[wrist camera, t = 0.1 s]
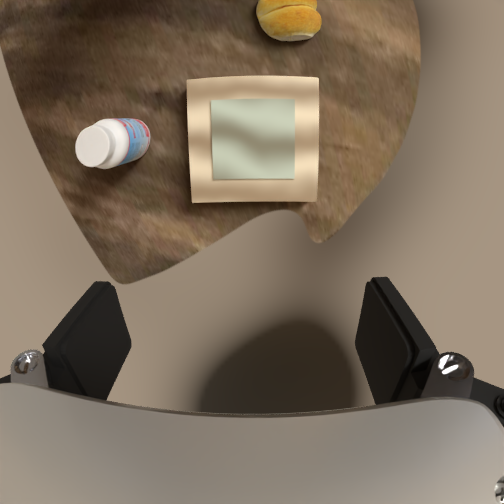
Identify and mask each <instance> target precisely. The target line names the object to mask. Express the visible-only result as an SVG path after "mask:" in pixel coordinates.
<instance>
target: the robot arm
mask: <svg viewBox="0 0 504 504" xmlns="http://www.w3.org/2000/svg"><path fill="white" fill-rule="evenodd" d="M42 346H43V348H44V350H45V352H44V354H42V353H41V352H40V351H37V350H28V351H25V352H22V353H21V354H19V355H18V356H17V357H16V358H15V359H14V360H13V362H12V364H11V374H10V375H8V376H5V377H3V378H0V504H504V389H502V388H499V387H496V386H494V385H491V384H489V383H486V382H484V381H481V380H479V379H476V378H474V368H473V365H472V363H471V362H470V361H469V360H468V359H467V358H466V357H465V356H463V355H461V354H459V353H454V352H445V353H442V354H439V352H438V351H437V349H436V347H435V345H434V343H433V342H432V340H431V339H430V337H429V335H428V334H427V332H426V331H425V329H424V328H423V326H422V325H421V323H420V322H419V321H418V319H417V318H416V316H415V315H414V313H413V312H412V310H411V309H410V307H409V306H408V305H407V303H406V302H405V300H404V299H403V298H402V296H401V295H400V293H399V292H398V291H397V290H396V288H395V286H394V285H393V284H392V282H391V281H390V280H389V278H388V277H373V278H372V279H371V281H370V282H367V283H366V287H365V293H364V298H363V305H362V309H361V314H360V319H359V324H358V329H357V334H356V340H355V346H356V350H357V353H358V355H359V358H360V361H361V364H362V366H363V369H364V372H365V375H366V378H367V381H368V384H369V386H370V389H371V392H372V395H373V398H374V401H375V404H376V405H372V406H364V407H357V408H348V409H339V410H329V411H318V412H305V413H286V414H220V413H219V414H218V413H200V412H186V411H175V410H167V409H158V408H150V407H142V406H135V405H129V404H123V403H117V402H112V401H106V400H107V397H108V395H109V393H110V391H111V389H112V387H113V384H114V382H115V380H116V378H117V376H118V374H119V372H120V370H121V367H122V365H123V363H124V361H125V359H126V357H127V355H128V353H129V351H130V349H131V338H130V335H129V332H128V329H127V326H126V323H125V320H124V317H123V314H122V310H121V307H120V303H119V300H118V296H117V293H116V289H115V287H114V286H113V285H111V283H110V282H102V281H99V282H97V281H96V282H94V283H93V284H92V286H91V287H90V288H89V289H88V290H87V291H86V292H85V294H84V295H83V296H82V297H81V298H80V299H79V301H78V302H77V303H76V304H75V305H74V306H73V307H72V309H71V310H70V311H69V312H68V313H67V315H66V316H65V317H64V318H63V319H62V321H61V322H60V323H59V324H58V326H57V327H56V328H55V329H54V331H53V332H52V333H51V334H50V336H49V337H48V338H47V339H46V341H45V342H44V343H43V345H42Z"/></svg>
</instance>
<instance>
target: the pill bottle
mask: <svg viewBox="0 0 504 504" xmlns="http://www.w3.org/2000/svg"><path fill="white" fill-rule="evenodd" d="M149 144H150V132H149V129H148V127H147V126H146V125H145V123H143V122H142V121H140V120H138V119H132V118H123V119H121V118H120V119H103V120H100V121H98V122H96V123H95V124H94V125H93V126H89V127H87V128H85V129H84V130H83V131H82V132H81V133H80V134H79V136H78V138H77V141H76V146H75V149H76V155H77V157H78V159H79V161H80V162H81V163H82V164H83V165H85V166H88V167H98V168H101V169H108V168H112V167H115V166H118V165H121V164H125V163H128V162H131V161H134V160H137V159H139V158H140V157H142V156H143V155H144V154H145V152H146V151H147V149H148V147H149Z"/></svg>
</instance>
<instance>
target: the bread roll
mask: <svg viewBox="0 0 504 504" xmlns="http://www.w3.org/2000/svg"><path fill="white" fill-rule="evenodd" d="M316 7H317V2H316V0H259V2H258V5H257V9H256V14H257V17H258V20H259V23H260V26H261V27H262V29H263V30H264V31H265V32H266V33H267V34H268V35H269V36H270V37H272V38H274V39H277V40H280V41H297V40H305V39H310V38H312V37H313V35H314V34H315V33H317V32H318V31H319V29H320V27H321V17H320V15H319V13H318V12H317V11H316Z"/></svg>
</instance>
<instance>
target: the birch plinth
mask: <svg viewBox="0 0 504 504" xmlns="http://www.w3.org/2000/svg"><path fill="white" fill-rule="evenodd" d="M187 115H188V142H189V162H190V179H191V194H192V203H201V202H250V201H298V202H317V186H318V154H319V78H313V77H296V76H233V77H215V78H202V79H191V80H187Z"/></svg>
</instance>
